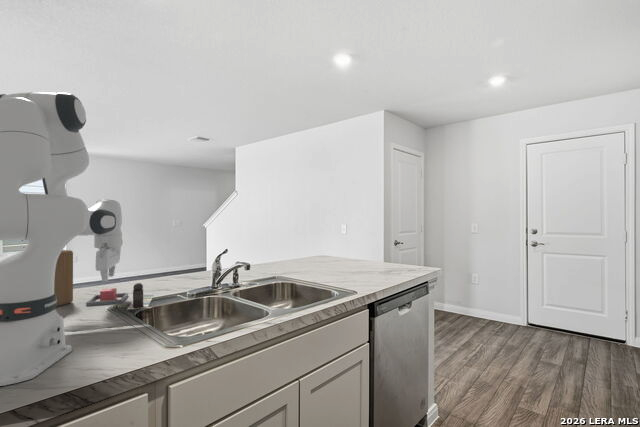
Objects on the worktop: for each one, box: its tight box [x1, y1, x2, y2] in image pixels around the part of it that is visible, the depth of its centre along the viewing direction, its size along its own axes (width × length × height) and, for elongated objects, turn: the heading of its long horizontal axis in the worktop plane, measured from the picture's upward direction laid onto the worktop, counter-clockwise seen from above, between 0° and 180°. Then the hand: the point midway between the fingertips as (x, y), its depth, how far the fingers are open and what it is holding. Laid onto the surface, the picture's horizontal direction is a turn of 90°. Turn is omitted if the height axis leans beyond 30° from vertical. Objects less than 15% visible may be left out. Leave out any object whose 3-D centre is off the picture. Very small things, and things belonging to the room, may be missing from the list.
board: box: [126, 293, 155, 310], centre depth 125 cm, size 20×7×1 cm, turn 20°
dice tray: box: [85, 292, 129, 307], centre depth 125 cm, size 11×11×2 cm
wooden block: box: [54, 249, 74, 308], centre depth 121 cm, size 10×10×20 cm
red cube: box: [99, 287, 118, 301], centre depth 125 cm, size 4×4×4 cm
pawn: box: [132, 282, 144, 309], centre depth 117 cm, size 3×3×8 cm
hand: (108, 278), depth 125 cm, fingers open, 8 cm apart
